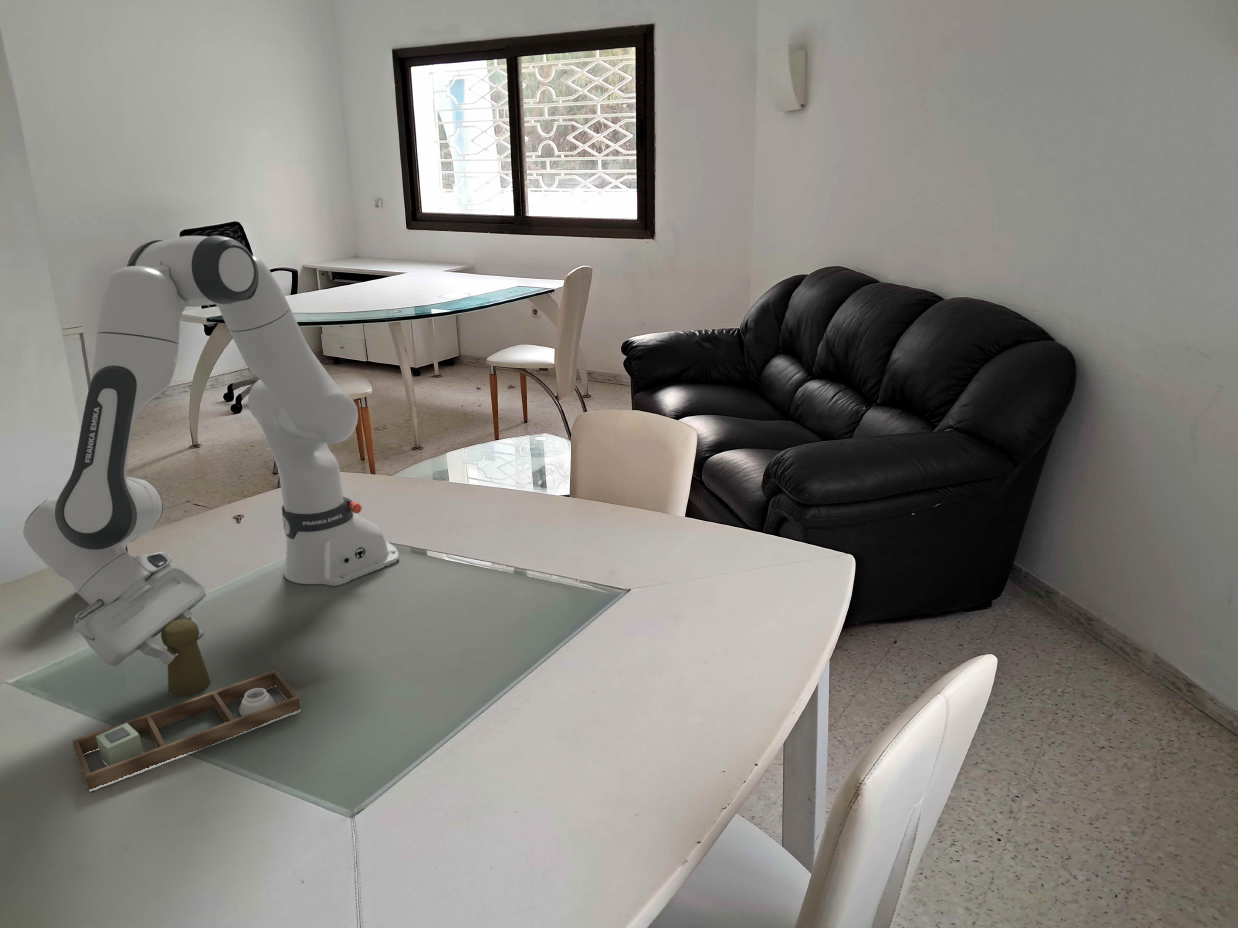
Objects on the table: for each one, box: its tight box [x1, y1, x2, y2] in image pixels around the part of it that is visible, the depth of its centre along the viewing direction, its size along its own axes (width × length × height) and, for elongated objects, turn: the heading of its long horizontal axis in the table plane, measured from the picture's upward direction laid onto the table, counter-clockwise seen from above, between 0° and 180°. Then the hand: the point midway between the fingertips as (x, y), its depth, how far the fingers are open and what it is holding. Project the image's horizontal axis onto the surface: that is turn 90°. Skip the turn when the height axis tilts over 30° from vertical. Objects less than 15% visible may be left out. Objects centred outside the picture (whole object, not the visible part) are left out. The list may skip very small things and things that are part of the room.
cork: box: [160, 619, 212, 698], centre depth 135 cm, size 6×6×11 cm
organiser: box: [72, 669, 302, 791], centre depth 125 cm, size 28×10×2 cm, turn 130°
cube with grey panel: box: [96, 723, 144, 766], centre depth 120 cm, size 4×4×4 cm
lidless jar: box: [238, 688, 276, 717], centre depth 131 cm, size 5×3×5 cm
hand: (186, 649), depth 135 cm, fingers closed on cork, 5 cm apart
